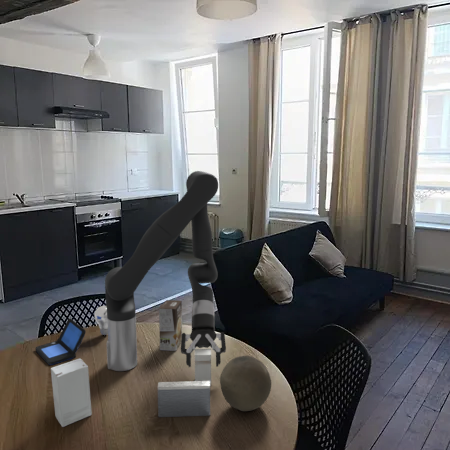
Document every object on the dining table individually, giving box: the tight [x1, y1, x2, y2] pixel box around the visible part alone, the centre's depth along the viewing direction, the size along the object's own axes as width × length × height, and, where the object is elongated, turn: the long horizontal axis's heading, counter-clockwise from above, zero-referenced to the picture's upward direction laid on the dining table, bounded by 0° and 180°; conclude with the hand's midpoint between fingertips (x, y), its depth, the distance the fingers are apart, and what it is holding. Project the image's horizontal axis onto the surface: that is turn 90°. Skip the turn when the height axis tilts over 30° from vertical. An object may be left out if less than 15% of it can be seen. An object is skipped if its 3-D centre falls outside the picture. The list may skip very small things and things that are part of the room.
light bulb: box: [94, 305, 108, 337], centre depth 160 cm, size 7×7×12 cm
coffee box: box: [158, 299, 183, 352], centre depth 151 cm, size 9×6×16 cm
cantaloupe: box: [219, 355, 272, 412], centre depth 112 cm, size 14×14×15 cm
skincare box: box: [50, 357, 93, 428], centre depth 109 cm, size 8×6×15 cm
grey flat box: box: [157, 380, 211, 418], centre depth 111 cm, size 14×2×9 cm, turn 93°
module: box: [194, 348, 212, 386], centre depth 127 cm, size 5×4×10 cm
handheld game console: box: [35, 318, 87, 366], centre depth 146 cm, size 16×13×9 cm
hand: (203, 366), depth 126 cm, fingers open, 8 cm apart
